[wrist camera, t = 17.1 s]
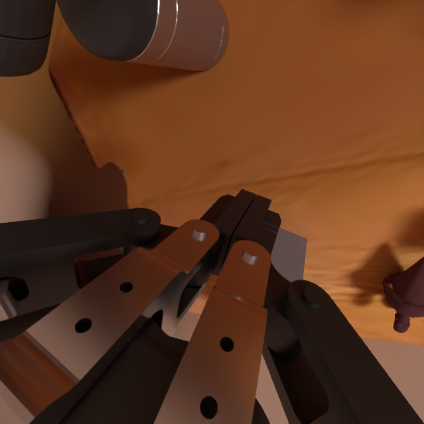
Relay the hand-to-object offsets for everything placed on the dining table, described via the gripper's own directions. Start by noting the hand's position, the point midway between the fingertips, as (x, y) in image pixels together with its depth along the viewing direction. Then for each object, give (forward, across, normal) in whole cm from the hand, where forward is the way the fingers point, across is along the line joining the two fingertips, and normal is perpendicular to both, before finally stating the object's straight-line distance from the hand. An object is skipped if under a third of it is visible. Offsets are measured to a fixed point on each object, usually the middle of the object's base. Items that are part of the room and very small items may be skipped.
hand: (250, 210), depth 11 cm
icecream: (+29, -26, +18) cm, 43 cm away
